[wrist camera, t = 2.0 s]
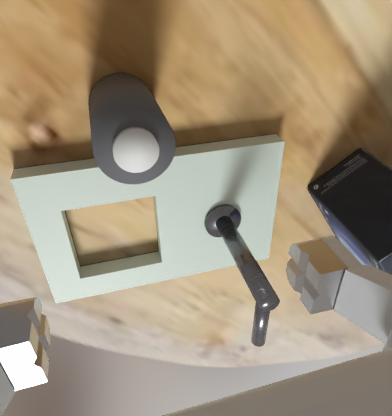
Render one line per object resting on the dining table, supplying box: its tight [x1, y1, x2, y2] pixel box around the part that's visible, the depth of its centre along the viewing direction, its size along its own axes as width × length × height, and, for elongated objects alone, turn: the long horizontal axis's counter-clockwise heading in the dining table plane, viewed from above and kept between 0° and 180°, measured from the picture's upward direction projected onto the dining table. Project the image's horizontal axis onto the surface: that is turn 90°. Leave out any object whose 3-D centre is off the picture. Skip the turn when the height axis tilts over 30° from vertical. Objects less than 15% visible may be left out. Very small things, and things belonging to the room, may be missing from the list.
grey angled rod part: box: [204, 204, 280, 346], centre depth 28 cm, size 7×3×10 cm, turn 1°
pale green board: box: [11, 134, 285, 303], centre depth 30 cm, size 12×20×2 cm, turn 91°
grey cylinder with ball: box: [89, 73, 176, 184], centre depth 22 cm, size 4×4×8 cm
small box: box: [308, 148, 392, 275], centre depth 32 cm, size 11×6×10 cm, turn 36°
